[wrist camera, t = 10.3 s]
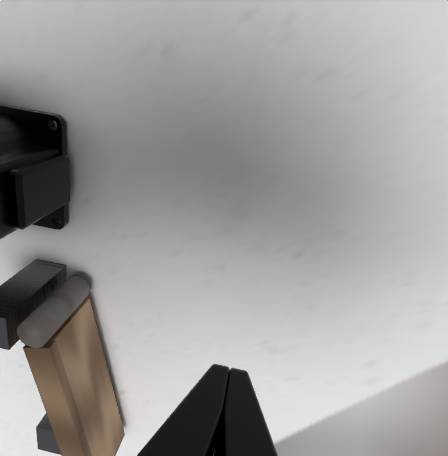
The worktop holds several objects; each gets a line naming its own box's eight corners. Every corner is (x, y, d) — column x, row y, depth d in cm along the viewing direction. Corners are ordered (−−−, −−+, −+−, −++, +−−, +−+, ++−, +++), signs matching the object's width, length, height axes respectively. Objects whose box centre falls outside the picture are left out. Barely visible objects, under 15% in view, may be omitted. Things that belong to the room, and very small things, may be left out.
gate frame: (76, 397, 27) (30, 470, 22) (28, 259, 23) (-42, 310, 18) (106, 398, 27) (66, 472, 22) (63, 258, 23) (1, 309, 18)
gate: (62, 276, 22) (12, 322, 18) (86, 276, 22) (41, 322, 18) (107, 432, 28) (76, 496, 23) (127, 434, 27) (99, 499, 23)
